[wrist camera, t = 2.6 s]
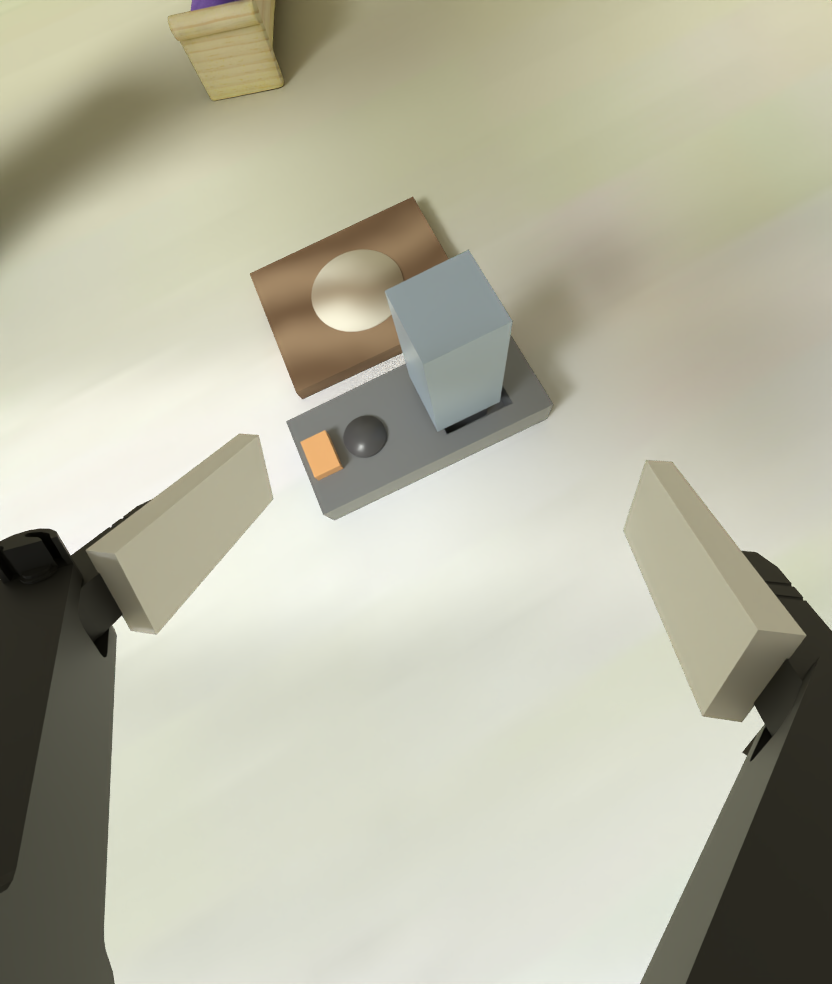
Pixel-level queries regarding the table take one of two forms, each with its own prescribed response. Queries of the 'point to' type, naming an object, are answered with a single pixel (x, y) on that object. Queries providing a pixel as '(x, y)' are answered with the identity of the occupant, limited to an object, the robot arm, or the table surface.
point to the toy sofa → (230, 45)
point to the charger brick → (452, 339)
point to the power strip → (402, 435)
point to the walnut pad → (344, 295)
